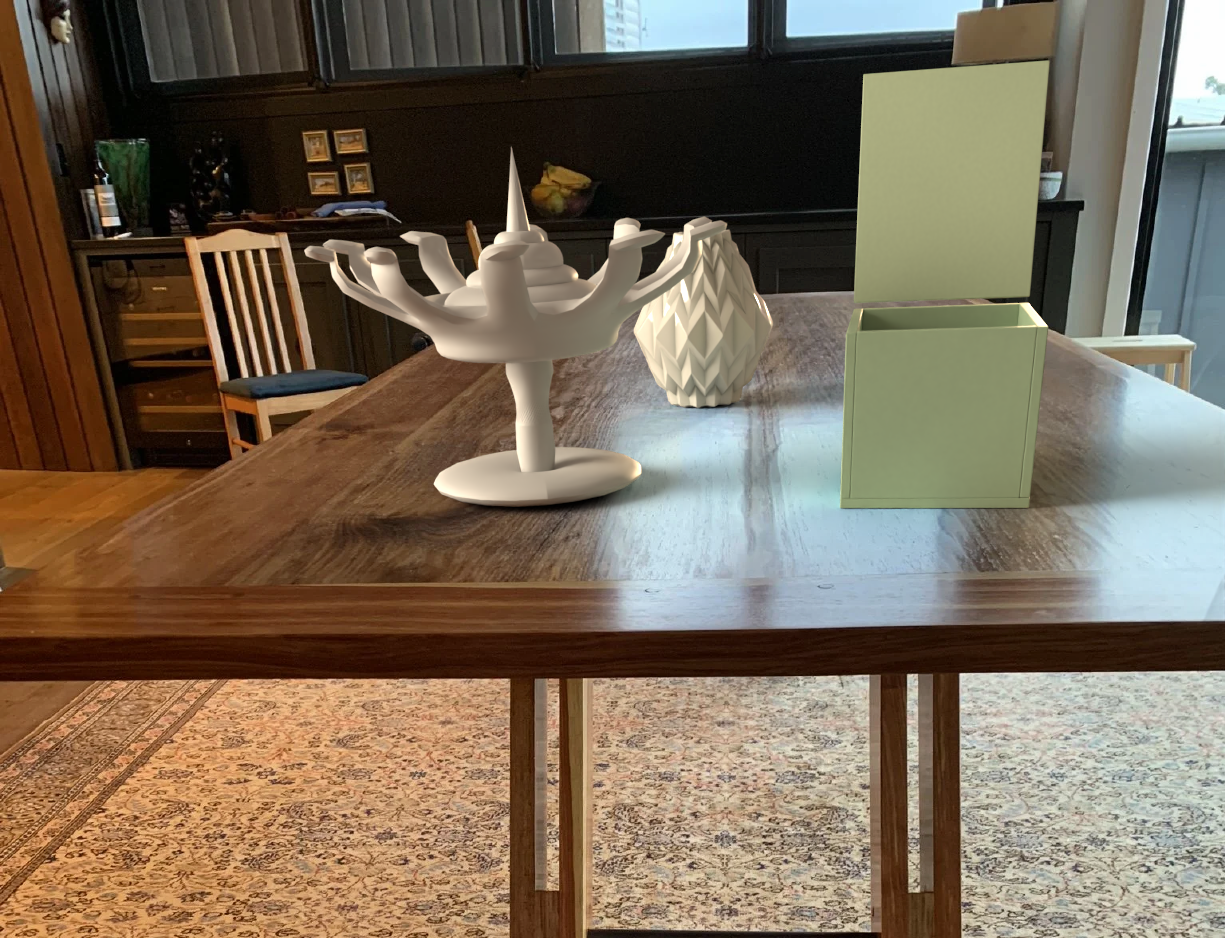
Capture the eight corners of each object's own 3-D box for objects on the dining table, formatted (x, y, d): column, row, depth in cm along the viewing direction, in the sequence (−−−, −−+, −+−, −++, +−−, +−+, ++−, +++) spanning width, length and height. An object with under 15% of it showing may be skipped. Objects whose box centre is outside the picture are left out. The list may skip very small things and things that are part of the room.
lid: (1049, 60, 97) (1048, 63, 98) (863, 74, 100) (863, 76, 101) (1029, 296, 102) (1028, 297, 103) (853, 302, 105) (854, 303, 106)
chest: (1029, 508, 95) (1048, 326, 89) (839, 508, 98) (845, 332, 92) (1012, 462, 109) (1028, 302, 103) (847, 463, 112) (853, 308, 106)
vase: (738, 417, 135) (737, 234, 127) (612, 411, 143) (603, 238, 134) (795, 393, 147) (797, 224, 139) (675, 389, 155) (671, 228, 146)
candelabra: (413, 451, 128) (375, 159, 115) (745, 444, 122) (744, 135, 109) (281, 540, 98) (211, 160, 86) (711, 537, 92) (704, 127, 79)
